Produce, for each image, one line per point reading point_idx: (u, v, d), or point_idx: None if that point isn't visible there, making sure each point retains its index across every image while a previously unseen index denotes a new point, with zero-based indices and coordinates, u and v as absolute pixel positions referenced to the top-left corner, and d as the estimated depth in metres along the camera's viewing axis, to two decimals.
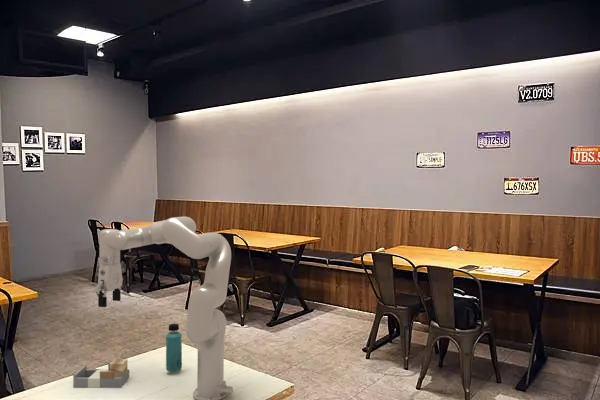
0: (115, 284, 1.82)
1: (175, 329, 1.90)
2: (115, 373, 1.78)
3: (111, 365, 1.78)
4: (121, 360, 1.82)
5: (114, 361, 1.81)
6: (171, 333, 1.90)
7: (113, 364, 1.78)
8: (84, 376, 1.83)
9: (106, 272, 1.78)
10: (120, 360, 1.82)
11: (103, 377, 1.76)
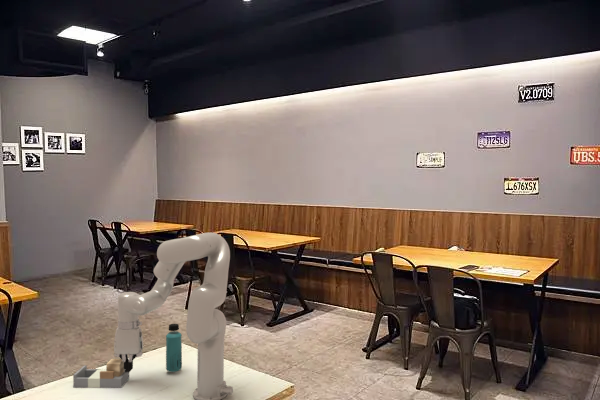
0: None
1: (175, 329, 1.90)
2: None
3: (108, 365, 1.78)
4: (118, 360, 1.82)
5: (111, 361, 1.81)
6: (171, 333, 1.90)
7: (109, 364, 1.78)
8: (84, 376, 1.83)
9: (141, 332, 1.82)
10: (117, 360, 1.82)
11: (103, 377, 1.76)
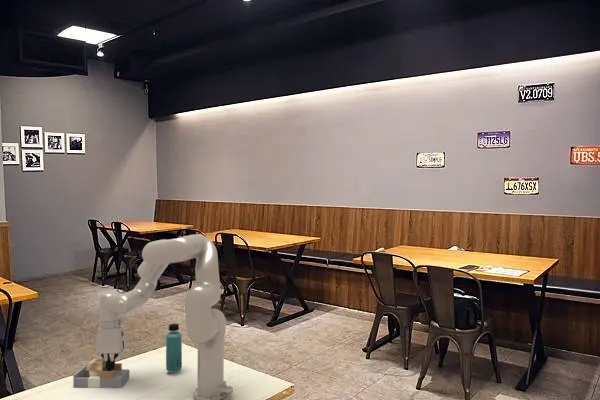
0: None
1: (175, 329, 1.90)
2: (94, 372, 1.78)
3: (90, 365, 1.78)
4: (100, 359, 1.82)
5: (93, 361, 1.81)
6: (171, 333, 1.90)
7: (91, 364, 1.78)
8: (84, 376, 1.83)
9: (123, 332, 1.82)
10: (99, 359, 1.82)
11: (103, 377, 1.76)
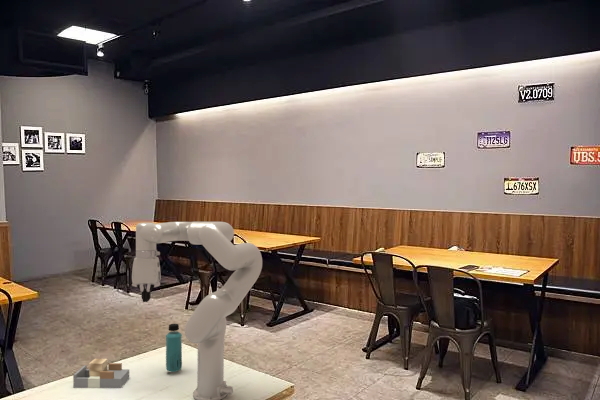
0: None
1: (175, 329, 1.90)
2: (94, 373, 1.78)
3: (90, 365, 1.78)
4: (101, 359, 1.82)
5: (94, 361, 1.81)
6: (171, 333, 1.90)
7: (92, 364, 1.78)
8: (84, 376, 1.83)
9: (159, 263, 1.82)
10: (100, 360, 1.82)
11: (103, 377, 1.76)
